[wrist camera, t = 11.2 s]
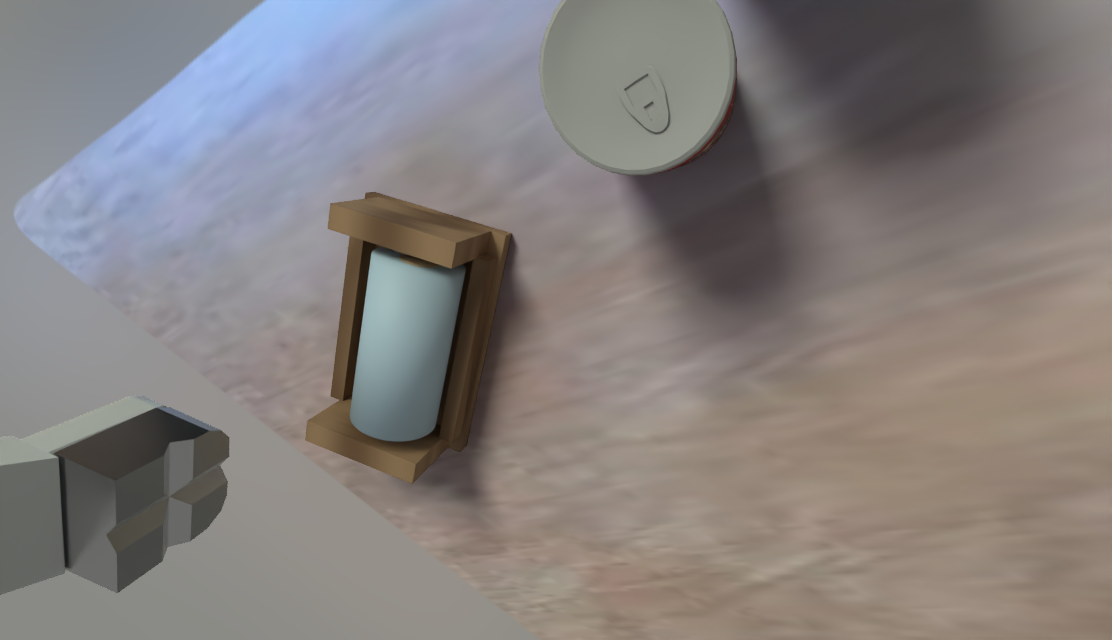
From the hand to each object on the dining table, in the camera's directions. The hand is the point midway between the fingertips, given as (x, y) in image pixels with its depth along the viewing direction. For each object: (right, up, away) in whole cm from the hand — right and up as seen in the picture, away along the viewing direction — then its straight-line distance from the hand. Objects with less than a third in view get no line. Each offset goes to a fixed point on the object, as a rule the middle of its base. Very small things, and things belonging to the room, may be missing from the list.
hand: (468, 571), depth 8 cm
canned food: (+7, +16, +25) cm, 31 cm away
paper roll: (-8, +3, +32) cm, 33 cm away
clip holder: (-8, +3, +33) cm, 34 cm away
